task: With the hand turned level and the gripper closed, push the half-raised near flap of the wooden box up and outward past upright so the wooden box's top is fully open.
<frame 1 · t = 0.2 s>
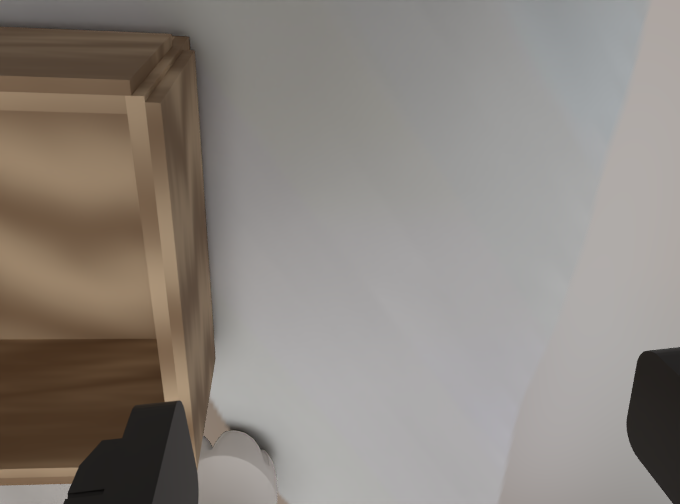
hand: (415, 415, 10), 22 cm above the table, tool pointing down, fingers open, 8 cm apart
water bottle: (227, 453, 42), on the table
wooden box: (48, 207, 31), on the table
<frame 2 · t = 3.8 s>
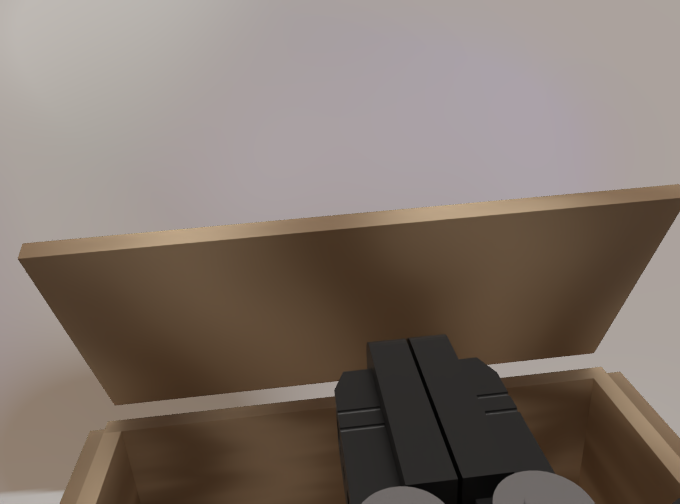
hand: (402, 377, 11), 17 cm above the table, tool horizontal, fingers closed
near flap: (361, 308, 18), point 14 cm above the table, hinge at 65.0°
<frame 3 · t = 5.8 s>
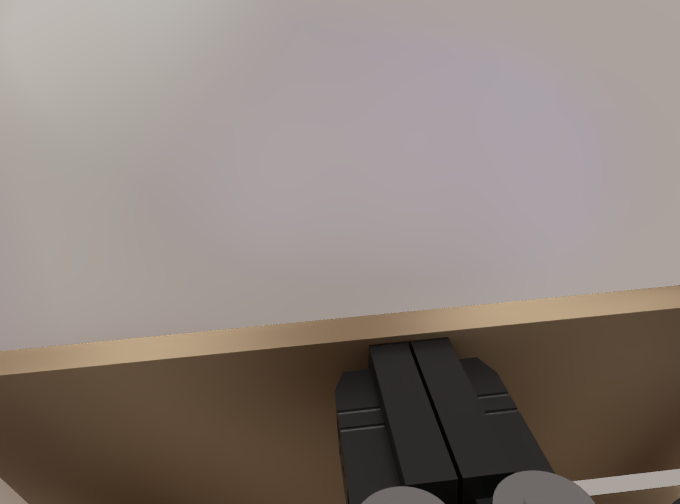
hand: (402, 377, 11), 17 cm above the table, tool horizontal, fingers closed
near flap: (394, 426, 13), point 14 cm above the table, hinge at 67.2°, touching gripper
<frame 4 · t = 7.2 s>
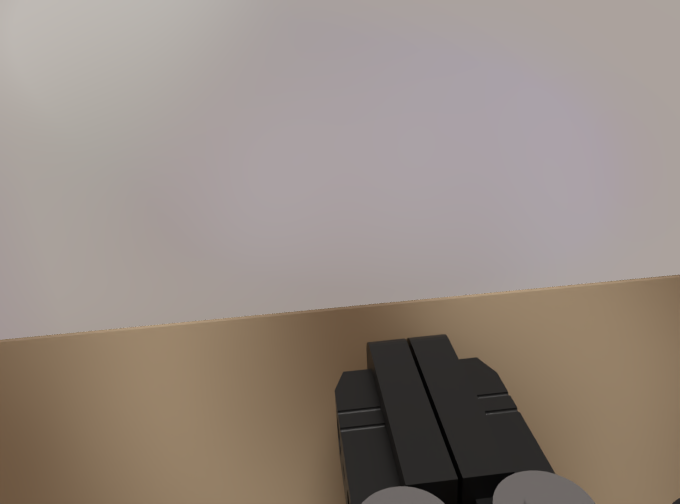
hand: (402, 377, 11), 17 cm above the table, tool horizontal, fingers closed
near flap: (412, 501, 12), point 14 cm above the table, hinge at 114.4°, touching gripper
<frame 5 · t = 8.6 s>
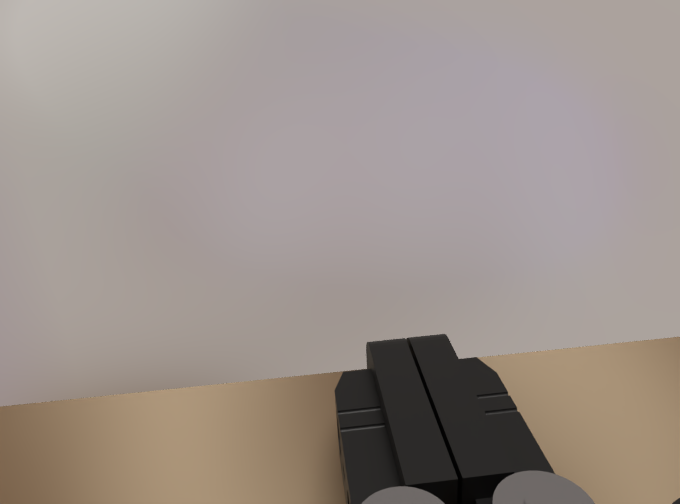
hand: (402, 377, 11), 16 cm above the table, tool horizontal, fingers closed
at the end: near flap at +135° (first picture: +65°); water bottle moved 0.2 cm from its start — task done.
